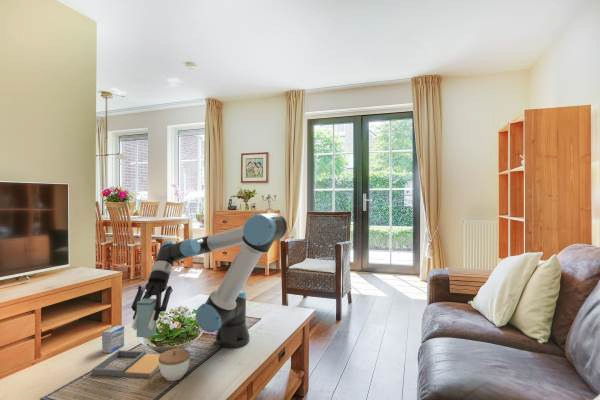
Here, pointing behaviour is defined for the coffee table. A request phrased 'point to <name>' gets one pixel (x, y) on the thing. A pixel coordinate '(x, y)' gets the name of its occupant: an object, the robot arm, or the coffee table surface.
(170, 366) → the lidded jar
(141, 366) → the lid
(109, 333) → the medicine box
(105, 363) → the shallow grey tray
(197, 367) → the coffee table surface
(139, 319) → the block
